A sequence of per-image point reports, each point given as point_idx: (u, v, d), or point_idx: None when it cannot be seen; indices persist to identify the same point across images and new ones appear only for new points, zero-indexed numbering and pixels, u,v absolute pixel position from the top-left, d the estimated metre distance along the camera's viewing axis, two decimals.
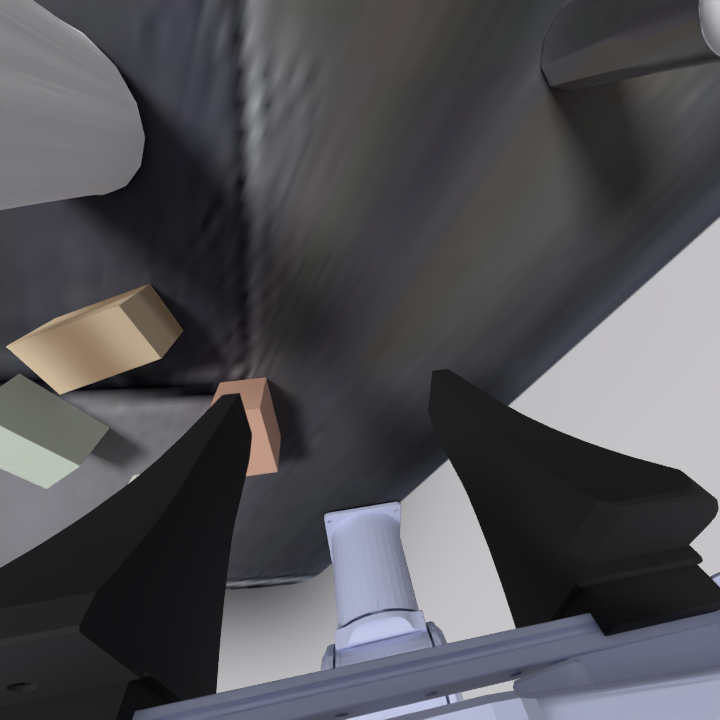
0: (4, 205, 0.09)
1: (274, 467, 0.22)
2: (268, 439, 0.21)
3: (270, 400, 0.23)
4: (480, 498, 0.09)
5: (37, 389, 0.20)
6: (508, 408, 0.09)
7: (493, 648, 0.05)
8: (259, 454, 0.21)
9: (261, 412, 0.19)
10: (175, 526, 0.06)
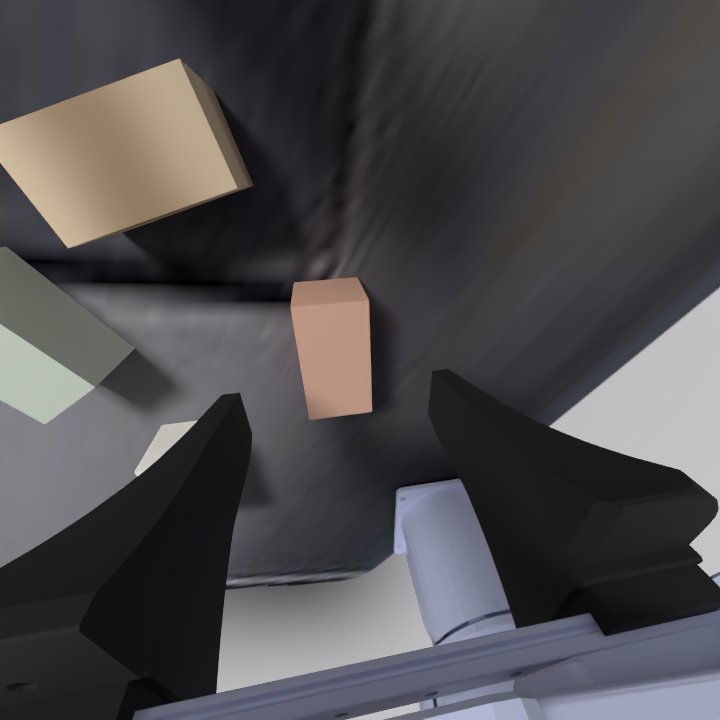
0: None
1: (369, 404, 0.15)
2: (369, 357, 0.14)
3: None
4: (480, 498, 0.09)
5: (33, 273, 0.13)
6: (508, 408, 0.09)
7: (494, 648, 0.05)
8: (353, 382, 0.15)
9: (368, 309, 0.13)
10: (175, 526, 0.06)
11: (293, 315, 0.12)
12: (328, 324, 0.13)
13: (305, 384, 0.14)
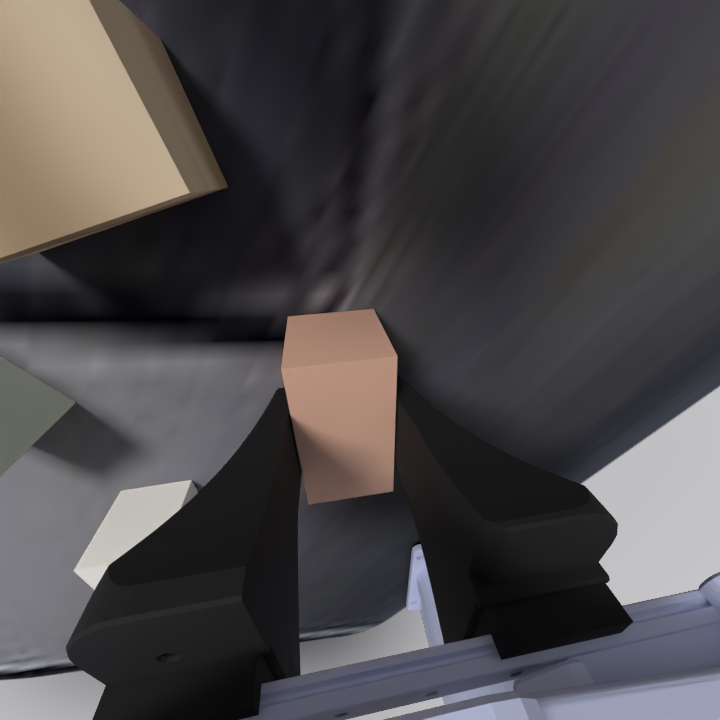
0: None
1: (390, 483, 0.11)
2: (393, 428, 0.10)
3: None
4: (417, 508, 0.09)
5: None
6: (442, 417, 0.08)
7: (494, 649, 0.05)
8: (369, 458, 0.10)
9: None
10: (273, 511, 0.06)
11: (285, 379, 0.08)
12: (336, 389, 0.09)
13: (303, 464, 0.10)
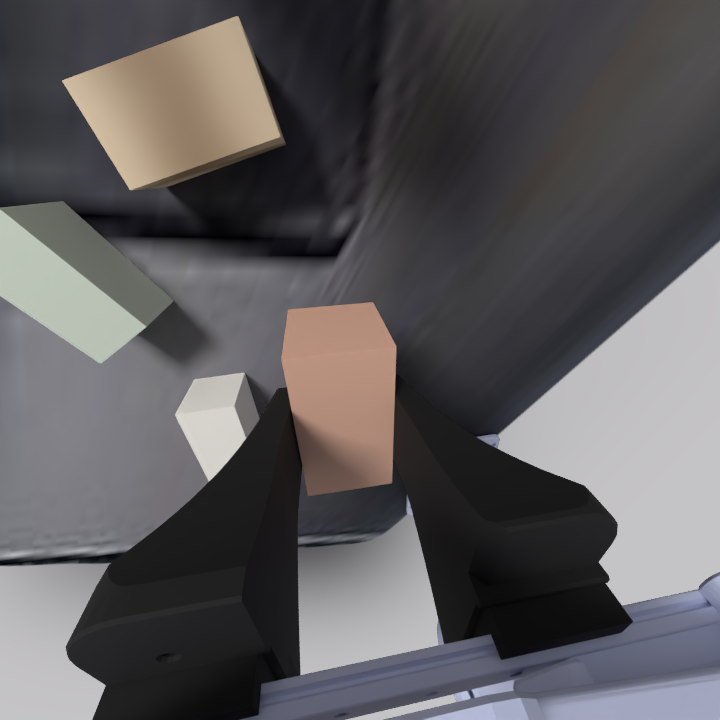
0: None
1: (388, 475, 0.11)
2: (392, 419, 0.10)
3: None
4: (417, 508, 0.09)
5: (86, 226, 0.14)
6: (442, 417, 0.08)
7: (494, 649, 0.05)
8: (368, 450, 0.11)
9: None
10: (273, 511, 0.06)
11: (285, 369, 0.08)
12: (336, 380, 0.09)
13: (303, 455, 0.10)
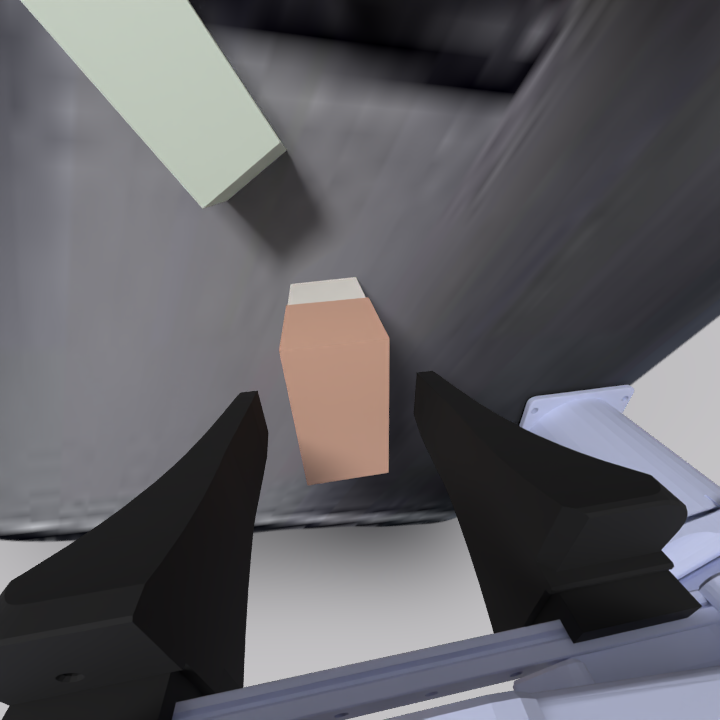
0: None
1: (385, 464, 0.12)
2: (387, 409, 0.10)
3: None
4: (461, 501, 0.09)
5: None
6: (488, 411, 0.09)
7: (494, 649, 0.05)
8: (365, 439, 0.11)
9: (387, 349, 0.09)
10: (207, 521, 0.06)
11: (283, 361, 0.09)
12: (332, 371, 0.09)
13: (301, 445, 0.11)
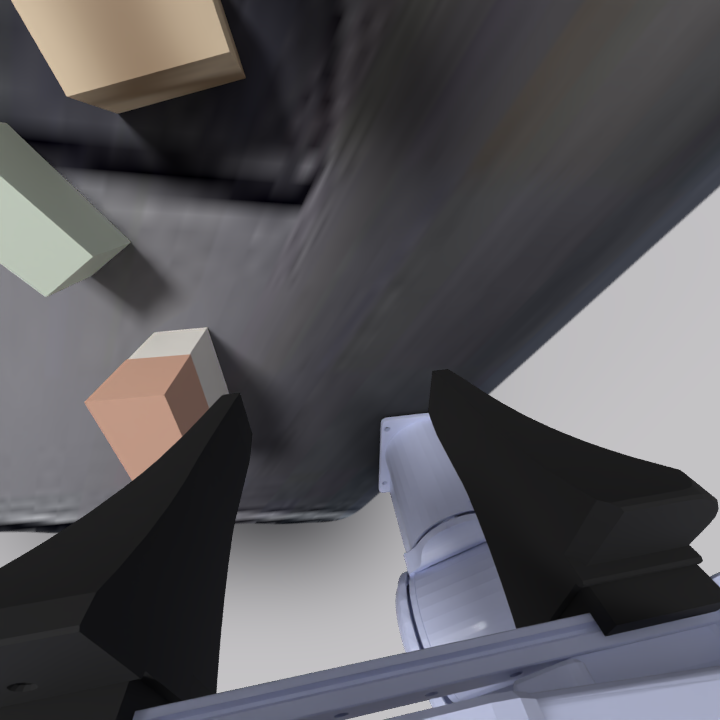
0: None
1: None
2: None
3: (197, 387, 0.17)
4: (480, 498, 0.09)
5: (33, 152, 0.14)
6: (508, 408, 0.09)
7: (494, 648, 0.05)
8: None
9: (168, 400, 0.14)
10: (175, 526, 0.06)
11: (89, 408, 0.13)
12: (128, 414, 0.14)
13: (123, 462, 0.15)
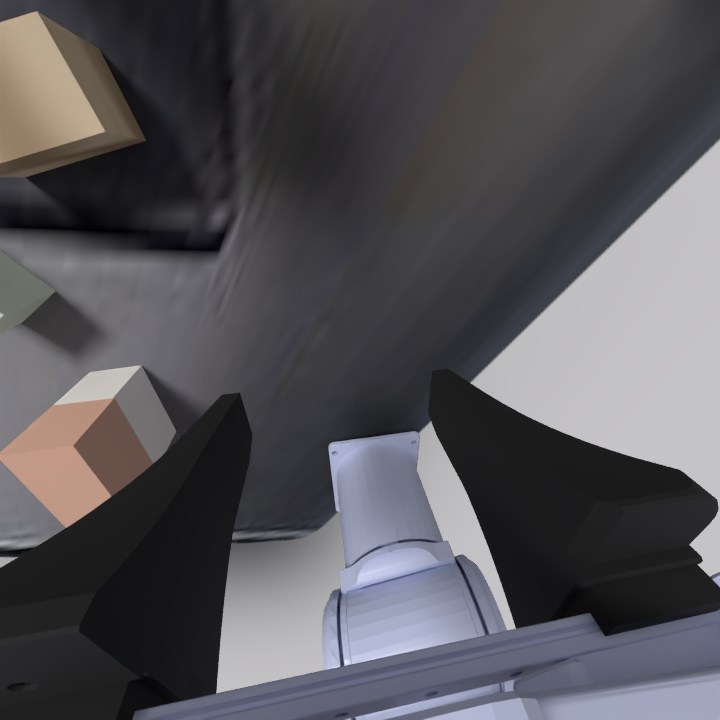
0: None
1: None
2: (102, 483, 0.16)
3: (124, 428, 0.18)
4: (480, 498, 0.09)
5: None
6: (508, 408, 0.09)
7: (493, 648, 0.05)
8: (95, 501, 0.16)
9: (80, 450, 0.14)
10: (175, 526, 0.06)
11: (2, 461, 0.14)
12: (42, 464, 0.14)
13: (47, 506, 0.16)
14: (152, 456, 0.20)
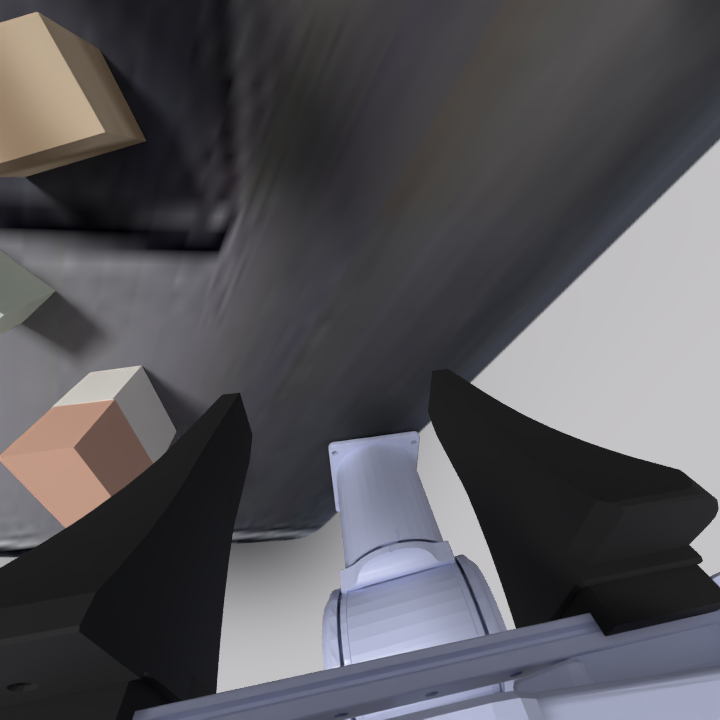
0: None
1: None
2: (103, 484, 0.16)
3: (124, 429, 0.18)
4: (480, 498, 0.09)
5: None
6: (508, 408, 0.09)
7: (493, 648, 0.05)
8: (96, 502, 0.16)
9: (80, 451, 0.15)
10: (175, 526, 0.06)
11: (3, 463, 0.14)
12: (43, 466, 0.14)
13: (48, 507, 0.16)
14: (152, 457, 0.20)
